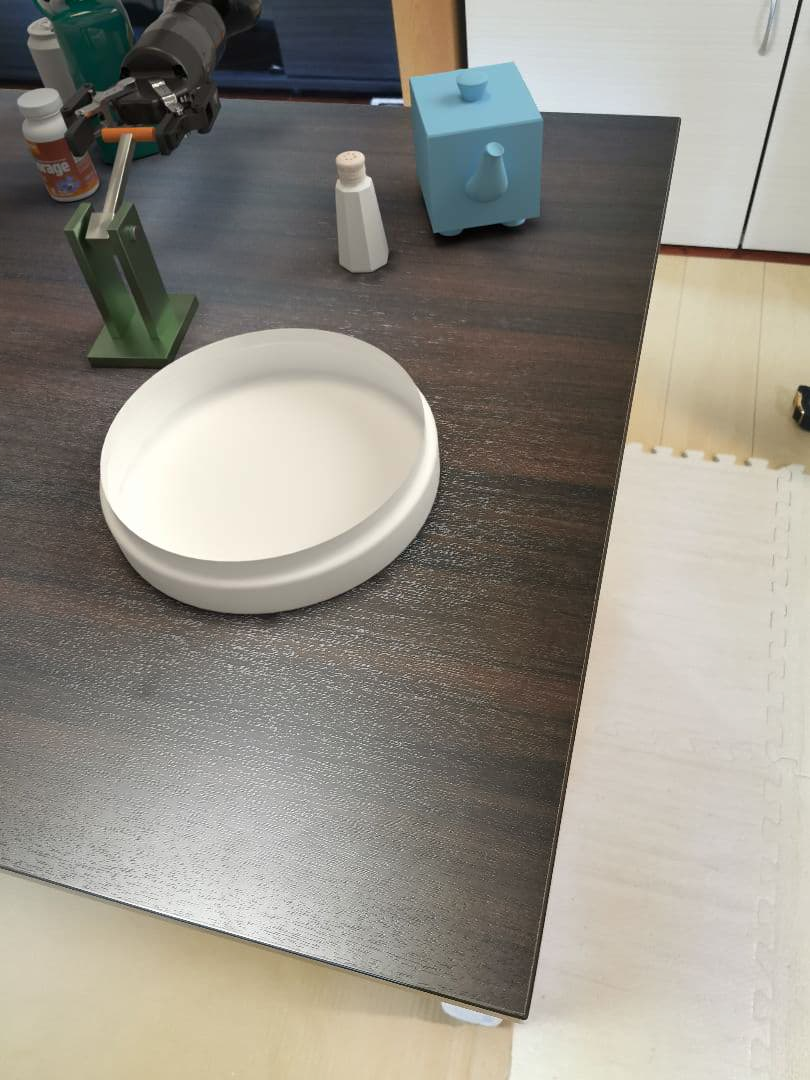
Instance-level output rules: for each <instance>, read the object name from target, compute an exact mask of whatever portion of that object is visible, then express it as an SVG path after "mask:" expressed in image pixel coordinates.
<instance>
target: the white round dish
mask: <svg viewBox="0 0 810 1080" xmlns="http://www.w3.org/2000/svg"><path fill="white" fill-rule="evenodd" d="M438 437H439V436H438V429H437V424H436V420H435V417H434V415H433V412H432V409H431V406H430V405H429V402H428V401H427V400H426V397H425V395H424V394H423V393H422V392H421V389H419V387H418V386H417V385H416V383H415V382H414V380H413V379H412V377H411V376H410V374H409V373H408V372H407V371H406V369H404V367H403V366H401V364H400V363H399V362H398V361H397V360H395V358H393V357H392V356H390V355H389V354H387V353H386V352H384V351H383V350H381V349H380V348H379V347H376V346H374V345H373V344H370V343H368V342H367V341H364V340H362V339H359V338H356V337H355V336H354V337H353V336H351V335H346V334H343V333H340V332H334V331H330V330H323V329H322V330H321V329H316V328H301V327H295V328H294V327H293V328H285V327H284V328H272V329H263V330H258V331H251V332H246V333H242V334H241V333H240V334H238V335H237V334H236V335H233V336H230V337H227V338H224V339H220V340H217V341H215V342H212V343H209V344H207V345H204V346H202V347H199V348H197V349H195V350H193V351H191V352H188V353H187V354H184V355H183V356H181V357H179V358H177V359H176V360H173V362H172V363H171V364H169V365H167V366H166V367H165V368H161V369H160V370H159V371H157V372H156V373H155V374H153V375H152V376H151V377H149V378H148V379H147V380H146V381H145V382H143V384H142V385H140V386H139V388H137V389H136V390H135V391H134V392H133V393H132V394H131V396H130V397H128V399H127V400H126V401H125V402H124V404H123V405H122V407H121V408H120V410H119V411H118V412H117V414H116V416H115V417H114V419H113V421H112V423H111V424H110V426H109V429H108V431H107V433H106V436H105V438H104V443H103V446H102V449H101V453H100V460H99V461H100V463H99V464H100V466H99V467H100V472H99V473H100V477H99V499H100V505H101V506H100V507H101V510H102V514H103V516H104V519H105V522H106V525H107V527H108V529H109V530H110V533H111V534H112V536H113V538H114V540H115V541H116V543H117V545H118V547H119V548H120V550H121V552H122V554H123V555H124V557H125V558H126V560H127V561H128V563H129V564H130V566H131V567H132V568H133V569H134V570H135V571H136V572H137V574H139V575H140V577H141V578H143V580H144V581H146V582H147V583H149V584H150V585H151V586H152V587H154V588H155V589H156V590H157V591H160V592H161V593H163V594H165V595H166V596H168V597H170V598H172V599H174V600H177V601H179V602H181V603H183V604H186V605H189V606H192V607H196V608H198V609H203V610H207V611H211V612H215V613H216V612H217V613H225V614H226V613H227V614H232V615H233V614H234V615H237V614H238V615H259V614H260V615H261V614H274V613H280V612H287V611H293V610H297V609H300V608H305V607H309V606H312V605H315V604H318V603H322V602H325V601H327V600H330V599H332V598H334V597H337V596H339V595H341V594H344V593H346V592H348V591H350V590H352V589H354V588H355V587H358V586H360V585H361V584H364V583H365V582H366V581H368V580H369V579H371V578H372V577H374V576H375V575H377V574H378V573H380V572H381V571H382V570H383V569H385V568H386V567H387V566H388V565H390V564H391V563H392V562H393V561H395V560H396V558H398V557H399V556H400V555H401V554H402V553H403V552H404V551H405V550H406V549H407V548H408V546H409V545H410V544H411V543H412V541H413V540H414V539H415V538H416V536H417V535H418V534H419V532H420V531H421V529H422V527H423V526H424V525H425V523H426V522H427V519H428V518H429V515H430V513H431V511H432V508H433V505H434V503H435V500H436V498H437V494H438V488H439V485H440V474H441V463H440V462H441V461H440V449H439V438H438Z"/></svg>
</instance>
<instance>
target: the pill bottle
mask: <svg viewBox="0 0 810 1080" xmlns="http://www.w3.org/2000/svg"><path fill="white" fill-rule="evenodd" d="M16 104H17V107H18V109H19V112H20V114H21V115H22V117H23V118H25V119H23V122H22V124H21V131H22V134H23V137H24V139H25V141H26V143H27V146H28V148H29V150H30V153H31V155H32V157H33V159H34V162H35V165H36V166H37V169H38V171H39V173H40V176H41V178H42V180H43V183H44V185H45V187H46V190H47V192H48V193H49V196H50V197H51V198H52V199H53V200H55V201H58V202H63V203H64V202H66V203H67V202H75V201H76V202H77V201H80V200H83V199H86V198H89V197H90V196H92V195H93V194H94V193H95V192H96V191H97V190H98V188H99V186H100V179H99V177H98V173H97V171H96V169H95V166H94V163H93V161H92V158H91V156H90V152H89V149H88V150H87V152H86V153H85V155H84V156H83V157H74V156H73V154H72V152H70V150H69V148H68V145H67V143H66V140H65V138H64V134H65V132H66V131H67V127H66V125H65V122H64V120H63V117H62V115H61V112H60V108H61V107H62V106H63V103H62V100H61V98H60V96H59V93H58V91H56V90H55V89H51V88H45V87H41V88H35V89H32V90H29V91H27V92H24V93H22V94H21V95H20V96H19V97H18V98H17V100H16Z"/></svg>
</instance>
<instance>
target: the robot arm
mask: <svg viewBox="0 0 810 1080" xmlns="http://www.w3.org/2000/svg"><path fill="white" fill-rule="evenodd" d="M163 1H164V2H163V9H162V11H163V12H162V13H161V14H160V15H159V16H158V18H157V19H156V20H155V21H154V22H152V23H150V25H149V26H148V27H147V28H146V29H144V32H142V34H140V36H139V38H138V39H137V40H136V43H135V44H134V46H133V47H132V48H131V50H130V51H129V52H128V53H127V55H126V56H125V58H124V60H123V62H122V65H121V70H120V76H119V81H118V82H117V83H116V84H114V85H113V86H111V87H110V88H109V89H108V90H106V91H104V92H96V91H95V88H94V85H93V84H92V83H85V84H83V85H82V86H81V87H80V88H79V89H78V90H77V91H76V92H75V93H74V94H73V96H72V97H71V98H70V99H69V100H68V101H67V102H66V103H65V104H64V105H63V106H62V107H61V108H60V112H61V115H62V117H63V120H64V122H65V125H66V127H67V131H66V132H65V134H64V138H65V140H66V143H67V145H68V148H69V150H70V152H72V154H73V156H74V157H83V156H84V155H85V153H86V152H87V150H88V151H89V149H90V148H91V146H92V145H93V143H94V142H95V138H97V137H99V136H101V135H102V129H103V128H130V127H132V126H135V125H136V126H141V125H143V124H146V125H158V123H159V124H160V125H159V126H158V128H157V129H156V131H155V139H156V142H157V145H158V148H159V151H160V152H159V154H160V155H161V156H171V154H172V153H173V151H175V150H176V149H178V148H179V146H180V144H181V143H182V142H183V140H184V139H186V138H188V137H191V135H192V131H197V133H198V134H199V135H207V134H209V133H210V132H211V131H212V129H213V127H214V124H215V123H216V120H217V118H218V115H219V113H220V111H221V108H222V103H221V100H220V95H219V91H218V86H217V83H216V80H215V79H214V78H212V77H213V74H214V71H215V69H216V67H217V66H218V64H219V63H220V61H221V59H222V58H223V56H224V53H225V50H226V47H227V43H228V39H229V38H232V37H234V36H236V35H240V34H242V33H245V32H246V31H249V30H251V29H253V28H254V27H255V26H256V25H257V24H258V22H259V21H260V19H261V15H262V0H163ZM109 105H111V108H112V109H113V111H114V112H115V113H116V115H117V116H118V117H119V119H120V120H119V121H117V122H115V123H114V120H113V117H112V115H111V112H110V109H109ZM97 116H98V117H100V120H101V123H100V124H99V125H97V126H93V123H92V122H93V120H94V119H95V118H96V117H97Z"/></svg>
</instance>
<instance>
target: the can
mask: <svg viewBox="0 0 810 1080" xmlns="http://www.w3.org/2000/svg"><path fill="white" fill-rule="evenodd" d="M26 31H27V34H29V37H28V39H27V42H26V44H27V47H28V50H29V52H30V54H31V56H32V60H33V62H34V64H35V67H36V69H37V71H38V74H39V77H40V79H41V82H42V84H43V86H44V88H51V89H55V90H56V91H58V93H59V96H60V98H61V100H62V103H63V105H64V104H65V103H66V102H67V101H68V100H69V99H70V98H71V97H72V96H73V94H74V93H75V92H76V89H75V87H74V84H73V81H72V79H71V76H70V73H69V71H68V68H67V66H66V63H65V60H64V58H63V55H62V52H61V50H60V47H59V44H58V42H57V39H56V37H55V34H54V31H53V29H52V26H51V23H50V21H49V19H48V18H47V17H45V16H44V17H42V18H39V19H37V20H34V21H32V22H31V23H30V24H29V25H28V27H27V29H26Z"/></svg>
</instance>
